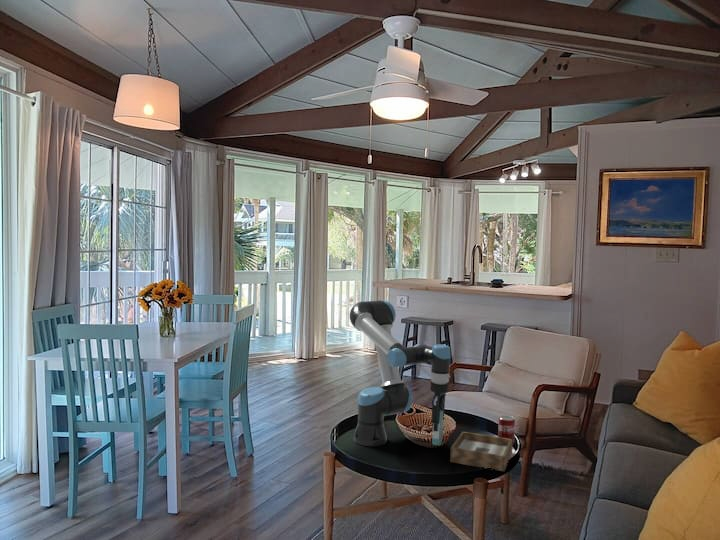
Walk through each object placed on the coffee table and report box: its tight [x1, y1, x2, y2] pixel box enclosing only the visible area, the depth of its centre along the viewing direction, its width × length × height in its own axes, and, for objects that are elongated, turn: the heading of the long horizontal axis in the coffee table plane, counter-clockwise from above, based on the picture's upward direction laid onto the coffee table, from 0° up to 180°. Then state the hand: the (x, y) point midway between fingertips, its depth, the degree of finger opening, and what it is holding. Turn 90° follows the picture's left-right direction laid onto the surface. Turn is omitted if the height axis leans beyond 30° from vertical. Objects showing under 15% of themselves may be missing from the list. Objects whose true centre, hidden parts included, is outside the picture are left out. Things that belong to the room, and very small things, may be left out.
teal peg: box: [431, 410, 444, 446], centre depth 235 cm, size 4×4×14 cm
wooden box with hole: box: [449, 431, 513, 472], centre depth 237 cm, size 22×22×6 cm
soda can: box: [497, 415, 516, 447], centre depth 254 cm, size 7×7×12 cm
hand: (437, 436), depth 236 cm, fingers closed on teal peg, 4 cm apart
